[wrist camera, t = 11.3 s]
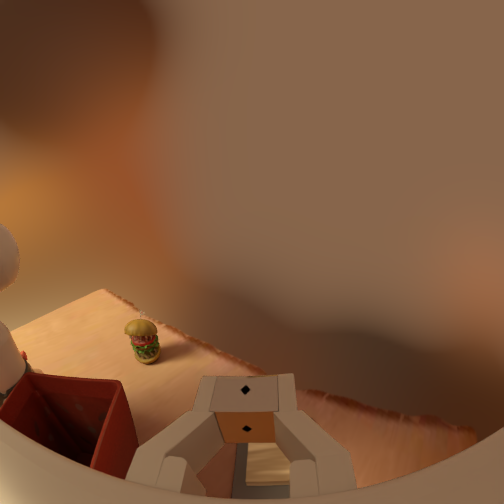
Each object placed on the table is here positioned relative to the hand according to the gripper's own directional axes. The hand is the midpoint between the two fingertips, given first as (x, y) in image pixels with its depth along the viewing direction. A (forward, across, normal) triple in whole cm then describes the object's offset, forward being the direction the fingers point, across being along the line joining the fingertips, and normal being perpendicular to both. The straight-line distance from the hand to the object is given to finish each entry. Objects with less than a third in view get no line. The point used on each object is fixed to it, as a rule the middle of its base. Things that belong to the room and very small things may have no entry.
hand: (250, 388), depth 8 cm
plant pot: (+4, +26, +32) cm, 42 cm away
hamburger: (+39, +29, +32) cm, 58 cm away
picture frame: (+8, 0, +30) cm, 32 cm away
